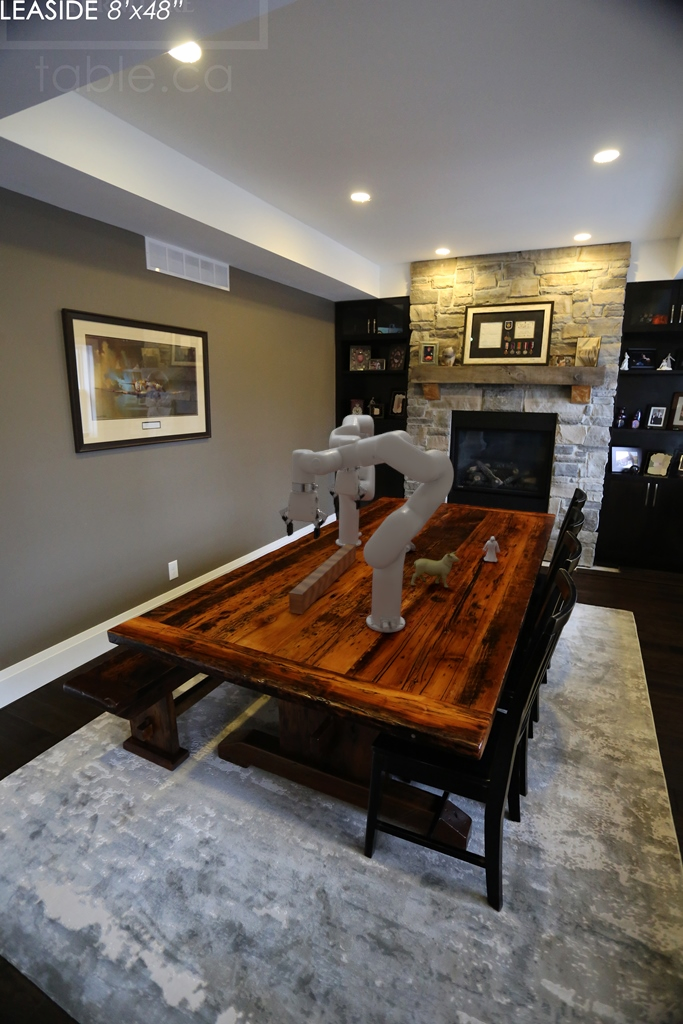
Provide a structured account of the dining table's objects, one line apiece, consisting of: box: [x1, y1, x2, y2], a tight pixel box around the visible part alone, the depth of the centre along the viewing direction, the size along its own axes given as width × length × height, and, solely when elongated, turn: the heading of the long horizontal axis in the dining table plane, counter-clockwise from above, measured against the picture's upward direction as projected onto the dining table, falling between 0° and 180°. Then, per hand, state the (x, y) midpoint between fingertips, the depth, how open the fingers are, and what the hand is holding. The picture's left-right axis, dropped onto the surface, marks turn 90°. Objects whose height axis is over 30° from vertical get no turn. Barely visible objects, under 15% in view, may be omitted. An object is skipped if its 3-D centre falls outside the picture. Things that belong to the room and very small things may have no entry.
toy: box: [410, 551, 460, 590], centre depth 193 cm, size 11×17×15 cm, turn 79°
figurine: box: [482, 535, 501, 563], centre depth 223 cm, size 8×8×12 cm
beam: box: [288, 543, 357, 615], centre depth 195 cm, size 59×4×7 cm, turn 160°
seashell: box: [406, 540, 417, 553], centre depth 234 cm, size 8×5×8 cm
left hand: (347, 507), depth 211 cm, fingers open, 9 cm apart
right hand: (303, 536), depth 169 cm, fingers open, 9 cm apart
